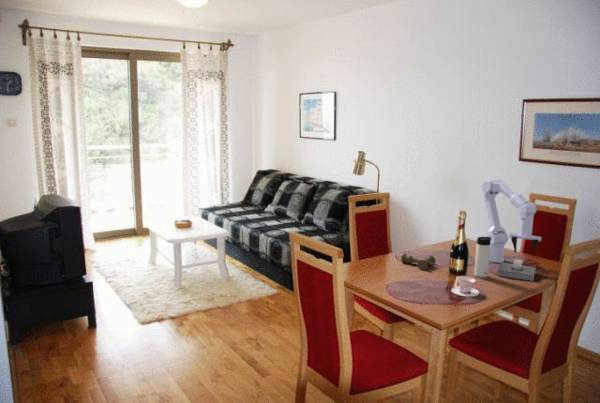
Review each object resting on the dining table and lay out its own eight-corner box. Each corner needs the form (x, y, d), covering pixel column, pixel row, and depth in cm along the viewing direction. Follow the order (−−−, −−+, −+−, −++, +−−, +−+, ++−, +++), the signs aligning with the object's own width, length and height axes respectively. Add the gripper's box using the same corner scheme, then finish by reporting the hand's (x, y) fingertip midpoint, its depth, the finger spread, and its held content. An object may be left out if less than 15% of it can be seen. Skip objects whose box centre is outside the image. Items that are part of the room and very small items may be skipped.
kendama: (407, 261, 266) (441, 268, 253) (398, 265, 259) (433, 273, 246) (407, 250, 265) (442, 257, 252) (398, 254, 258) (433, 261, 245)
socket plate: (497, 275, 242) (498, 270, 241) (500, 267, 254) (501, 262, 253) (533, 281, 234) (533, 275, 234) (534, 272, 247) (535, 267, 246)
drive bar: (511, 274, 244) (513, 261, 242) (512, 272, 247) (513, 259, 246) (520, 276, 242) (522, 262, 240) (521, 273, 245) (522, 260, 244)
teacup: (446, 292, 220) (447, 278, 219) (459, 285, 229) (460, 272, 227) (471, 299, 212) (472, 286, 211) (484, 292, 220) (485, 279, 219)
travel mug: (489, 279, 237) (492, 239, 233) (475, 278, 238) (478, 238, 235) (487, 274, 243) (490, 235, 239) (473, 273, 244) (476, 235, 241)
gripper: (509, 226, 246) (507, 252, 248) (541, 230, 239) (538, 257, 242) (511, 223, 252) (508, 249, 254) (542, 227, 245) (539, 253, 248)
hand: (523, 252), depth 248 cm, fingers open, 7 cm apart
